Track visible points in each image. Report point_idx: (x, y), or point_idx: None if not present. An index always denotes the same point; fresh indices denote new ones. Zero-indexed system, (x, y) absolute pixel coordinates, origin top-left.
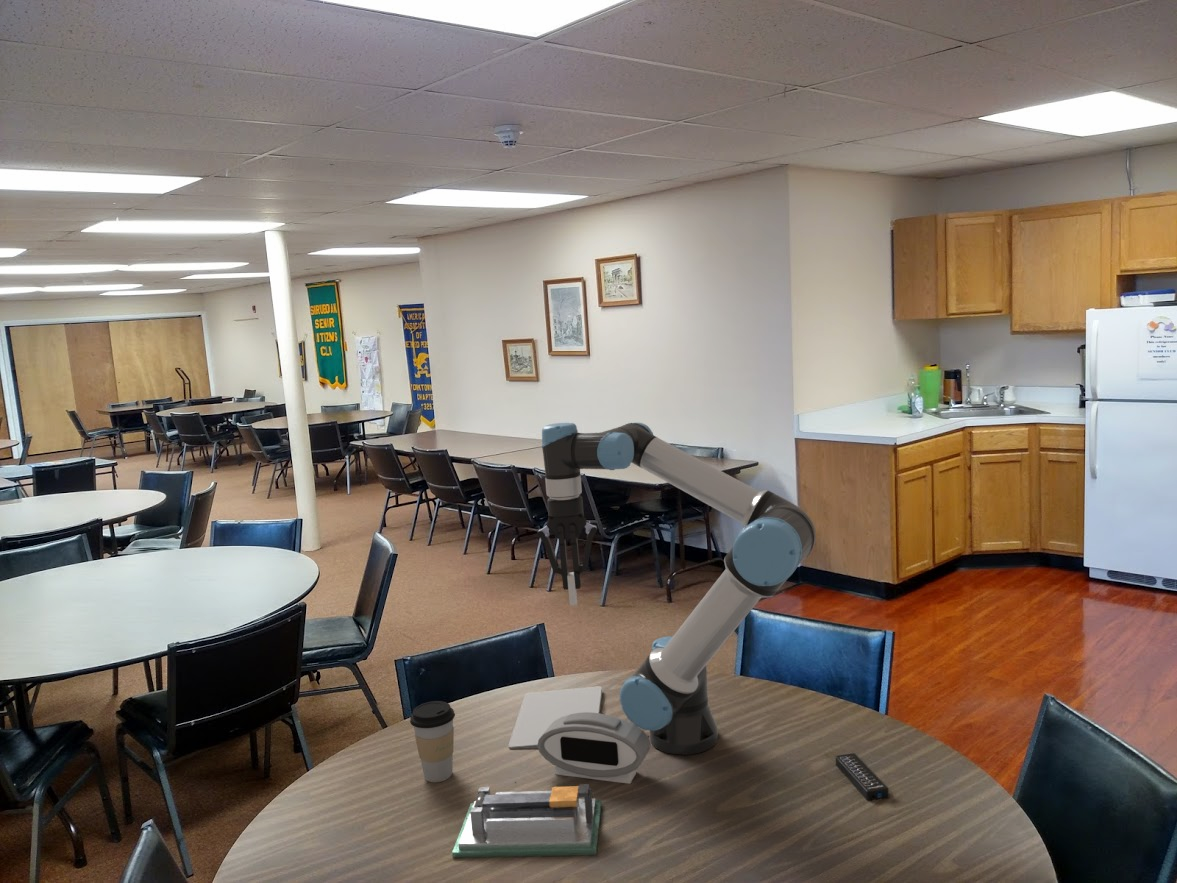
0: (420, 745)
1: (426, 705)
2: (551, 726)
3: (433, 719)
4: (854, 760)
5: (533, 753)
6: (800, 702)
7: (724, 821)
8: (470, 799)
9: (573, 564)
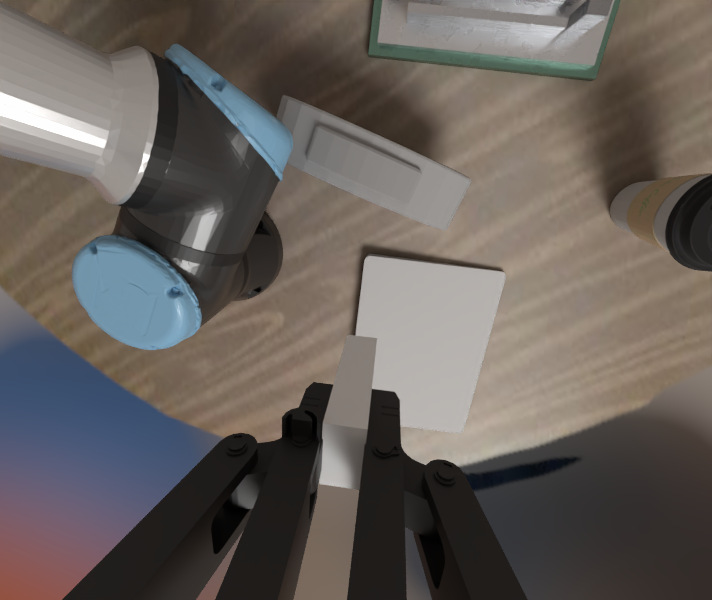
0: None
1: None
2: (444, 196)
3: None
4: None
5: (465, 248)
6: (75, 318)
7: None
8: (588, 112)
9: (303, 488)
